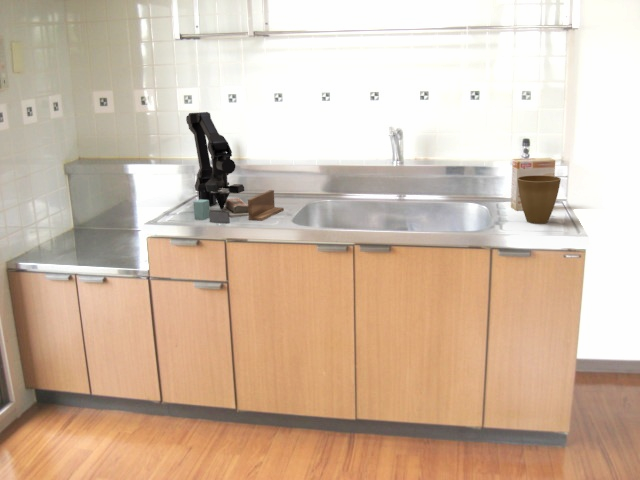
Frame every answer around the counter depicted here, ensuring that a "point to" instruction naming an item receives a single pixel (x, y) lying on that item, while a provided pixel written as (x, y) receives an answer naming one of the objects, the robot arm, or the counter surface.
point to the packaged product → (236, 207)
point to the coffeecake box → (528, 174)
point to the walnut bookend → (262, 206)
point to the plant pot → (538, 196)
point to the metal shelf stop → (219, 217)
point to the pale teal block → (201, 209)
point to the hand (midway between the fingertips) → (221, 208)
